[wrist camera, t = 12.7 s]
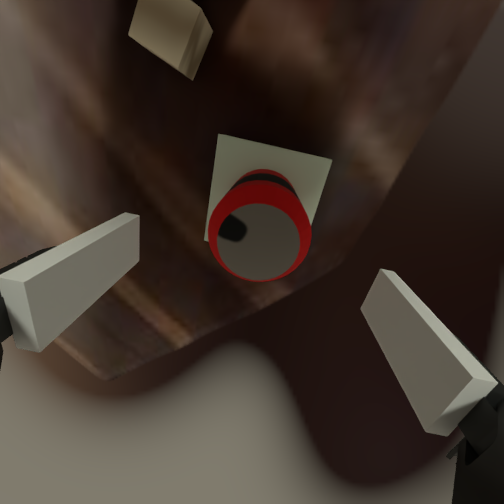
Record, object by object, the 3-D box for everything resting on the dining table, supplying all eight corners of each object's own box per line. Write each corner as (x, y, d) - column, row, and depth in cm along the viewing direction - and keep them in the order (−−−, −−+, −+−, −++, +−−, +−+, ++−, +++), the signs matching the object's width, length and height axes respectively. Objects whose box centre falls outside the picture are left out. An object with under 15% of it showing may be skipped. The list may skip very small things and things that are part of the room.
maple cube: (192, 81, 28) (177, 68, 23) (152, 53, 27) (127, 34, 22) (213, 31, 26) (200, 7, 21) (170, 0, 25) (147, -32, 20)
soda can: (250, 154, 25) (235, 164, 15) (310, 191, 27) (338, 226, 16) (218, 215, 28) (185, 260, 17) (273, 246, 30) (275, 307, 19)
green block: (212, 227, 34) (203, 240, 30) (226, 135, 29) (218, 133, 25) (295, 245, 35) (299, 261, 30) (322, 157, 30) (332, 160, 25)
